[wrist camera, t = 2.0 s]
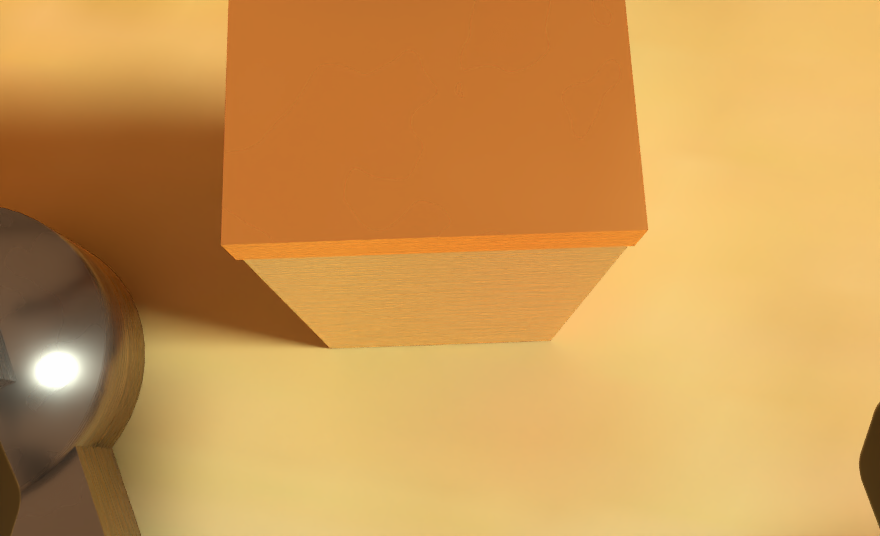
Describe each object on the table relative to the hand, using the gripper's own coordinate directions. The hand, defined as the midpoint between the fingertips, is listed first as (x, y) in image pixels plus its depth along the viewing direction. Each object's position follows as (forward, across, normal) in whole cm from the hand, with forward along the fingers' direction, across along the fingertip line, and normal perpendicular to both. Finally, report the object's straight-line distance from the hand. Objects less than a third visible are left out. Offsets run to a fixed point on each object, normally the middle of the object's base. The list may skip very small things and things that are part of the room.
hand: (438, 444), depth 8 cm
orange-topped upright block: (+12, 0, +4) cm, 13 cm away
